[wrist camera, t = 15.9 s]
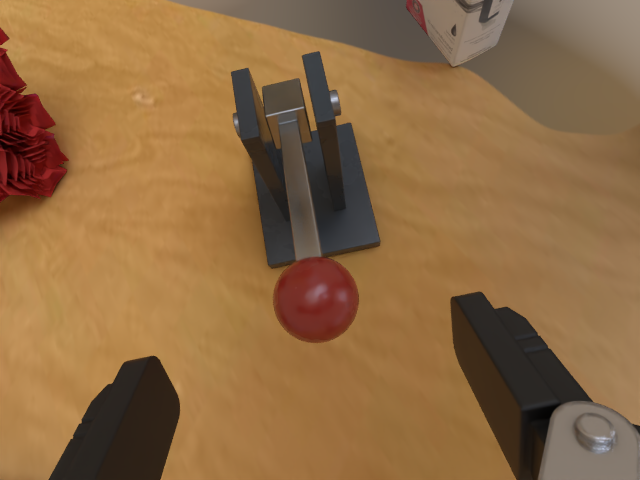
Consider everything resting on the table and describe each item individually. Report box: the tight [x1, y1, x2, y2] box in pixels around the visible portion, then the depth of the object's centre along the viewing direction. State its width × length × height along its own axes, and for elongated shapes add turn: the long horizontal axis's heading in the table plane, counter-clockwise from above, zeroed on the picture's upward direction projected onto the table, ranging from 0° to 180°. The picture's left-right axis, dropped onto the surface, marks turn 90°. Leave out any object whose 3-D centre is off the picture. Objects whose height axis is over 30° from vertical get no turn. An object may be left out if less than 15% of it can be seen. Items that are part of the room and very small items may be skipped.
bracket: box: [231, 51, 380, 268], centre depth 28 cm, size 11×9×14 cm
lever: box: [262, 78, 359, 343], centre depth 20 cm, size 15×3×3 cm, turn 12°
